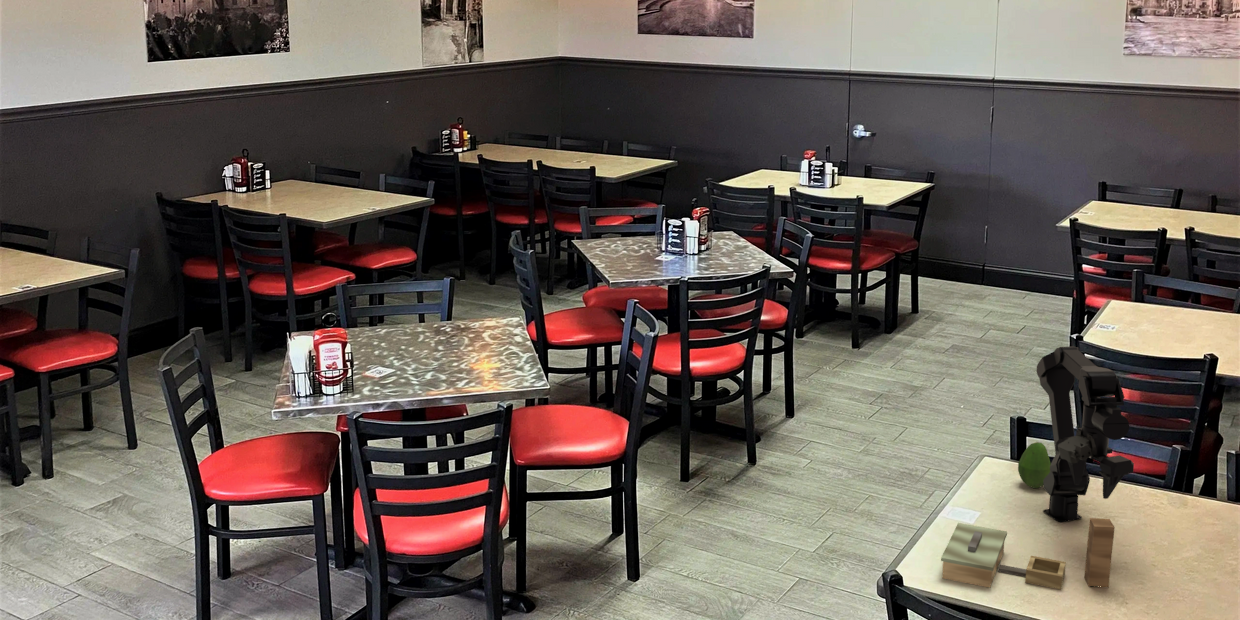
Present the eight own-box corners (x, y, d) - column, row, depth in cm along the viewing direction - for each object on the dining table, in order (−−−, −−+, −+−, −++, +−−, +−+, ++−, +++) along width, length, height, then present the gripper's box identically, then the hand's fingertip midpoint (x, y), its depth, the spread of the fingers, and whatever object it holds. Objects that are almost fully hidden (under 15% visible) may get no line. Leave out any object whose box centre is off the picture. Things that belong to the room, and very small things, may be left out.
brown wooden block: (1084, 577, 245) (1089, 518, 242) (1103, 578, 245) (1109, 518, 241) (1088, 586, 242) (1094, 526, 238) (1108, 587, 241) (1114, 527, 237)
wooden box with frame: (956, 542, 262) (958, 517, 261) (1067, 562, 252) (1070, 537, 250) (939, 578, 246) (941, 552, 245) (1057, 602, 236) (1059, 575, 234)
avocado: (1050, 482, 294) (1053, 439, 291) (1049, 494, 287) (1053, 450, 284) (1017, 478, 297) (1020, 435, 293) (1015, 490, 289) (1019, 446, 286)
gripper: (1038, 417, 260) (1034, 482, 263) (1095, 442, 243) (1090, 511, 246) (1078, 412, 263) (1074, 476, 267) (1138, 436, 246) (1132, 504, 249)
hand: (1091, 491), depth 257 cm, fingers open, 9 cm apart
